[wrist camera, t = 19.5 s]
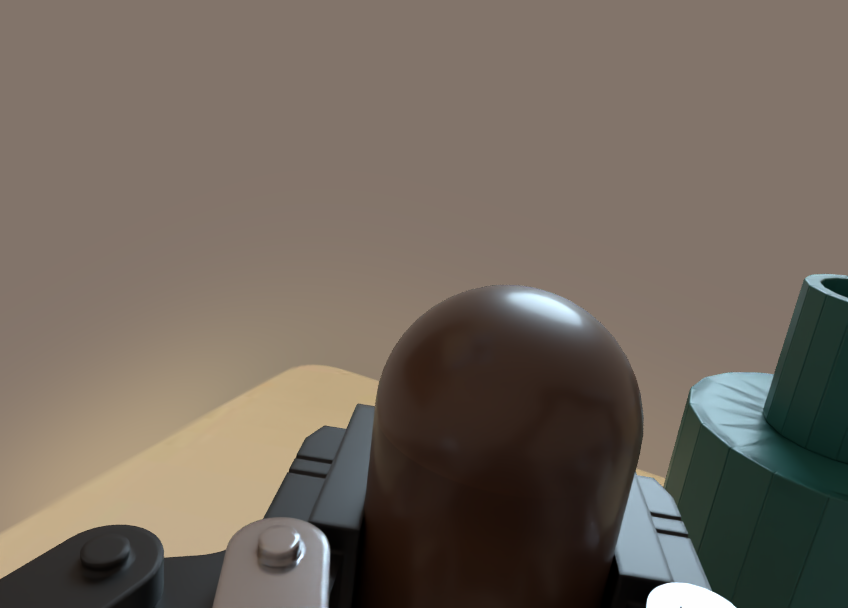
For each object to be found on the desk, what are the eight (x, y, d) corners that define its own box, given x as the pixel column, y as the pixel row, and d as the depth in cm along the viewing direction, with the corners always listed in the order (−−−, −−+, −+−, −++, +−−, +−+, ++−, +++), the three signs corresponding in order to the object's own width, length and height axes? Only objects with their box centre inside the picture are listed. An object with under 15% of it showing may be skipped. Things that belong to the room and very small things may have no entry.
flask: (646, 660, 28) (768, 242, 22) (850, 791, 24) (1070, 313, 18) (553, 788, 23) (683, 277, 17) (797, 991, 18) (1092, 392, 12)
